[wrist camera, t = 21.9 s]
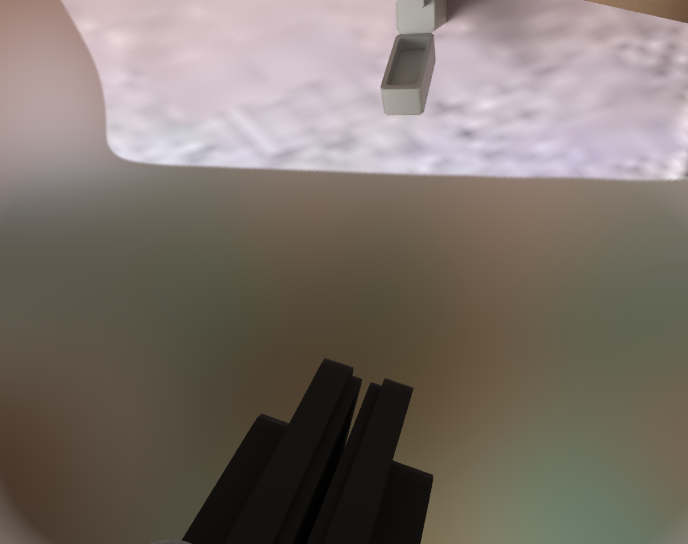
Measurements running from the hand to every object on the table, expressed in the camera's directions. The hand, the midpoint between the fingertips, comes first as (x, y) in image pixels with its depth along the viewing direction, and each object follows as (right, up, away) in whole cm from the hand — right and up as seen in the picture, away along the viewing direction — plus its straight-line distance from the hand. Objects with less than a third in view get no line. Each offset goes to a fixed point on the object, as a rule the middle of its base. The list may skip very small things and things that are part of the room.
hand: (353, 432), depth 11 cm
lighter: (+4, +16, +20) cm, 26 cm away
